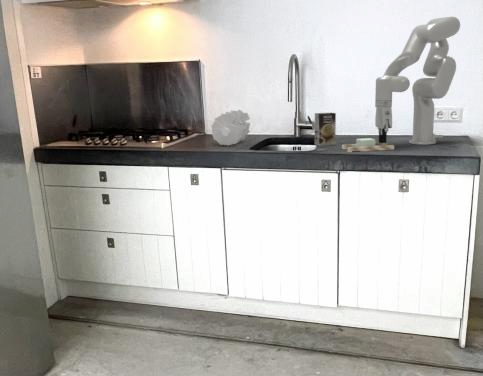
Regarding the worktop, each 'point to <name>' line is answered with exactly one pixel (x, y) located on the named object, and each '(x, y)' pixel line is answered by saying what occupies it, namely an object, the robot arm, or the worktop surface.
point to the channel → (368, 147)
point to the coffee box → (325, 128)
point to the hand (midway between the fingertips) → (382, 142)
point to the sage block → (365, 142)
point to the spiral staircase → (230, 127)
